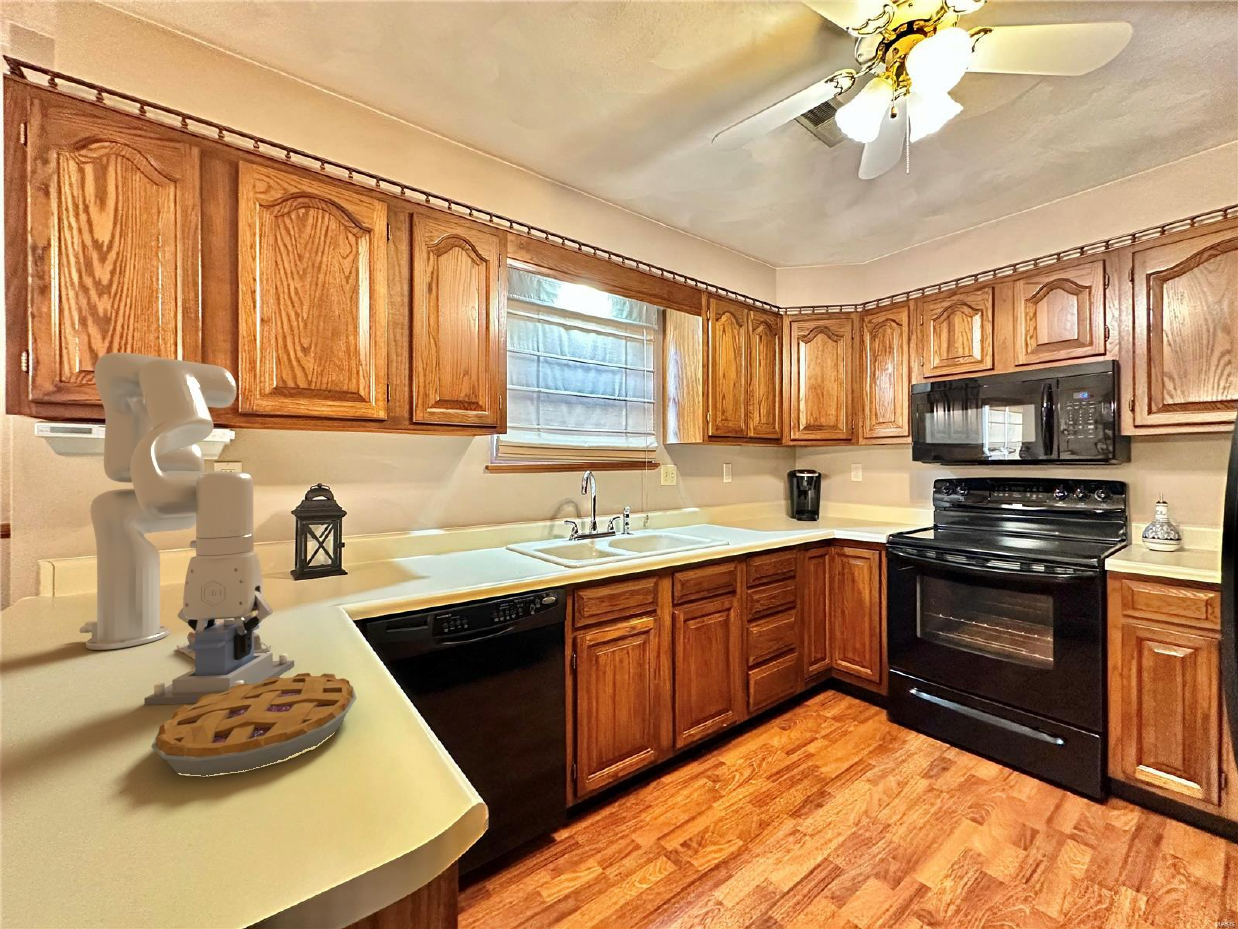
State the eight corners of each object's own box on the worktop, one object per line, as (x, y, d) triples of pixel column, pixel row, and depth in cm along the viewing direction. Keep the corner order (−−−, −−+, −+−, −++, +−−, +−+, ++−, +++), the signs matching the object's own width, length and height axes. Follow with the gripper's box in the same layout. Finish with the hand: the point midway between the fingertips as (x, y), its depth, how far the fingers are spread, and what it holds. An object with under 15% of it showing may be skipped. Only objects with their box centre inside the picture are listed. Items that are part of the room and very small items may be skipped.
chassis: (144, 705, 77) (144, 684, 77) (212, 668, 91) (212, 651, 91) (241, 701, 78) (241, 681, 78) (294, 666, 92) (294, 649, 92)
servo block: (187, 683, 79) (187, 631, 79) (232, 659, 89) (232, 613, 89) (218, 682, 79) (218, 630, 79) (259, 658, 89) (259, 612, 89)
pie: (113, 809, 53) (113, 760, 53) (191, 716, 73) (191, 682, 73) (350, 759, 62) (349, 718, 62) (361, 689, 82) (361, 658, 82)
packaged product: (272, 629, 99) (210, 644, 91) (273, 654, 99) (210, 671, 91) (235, 615, 109) (175, 627, 101) (235, 637, 109) (175, 652, 101)
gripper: (152, 551, 80) (152, 668, 80) (264, 549, 81) (265, 664, 81) (189, 544, 88) (189, 651, 87) (291, 542, 89) (292, 648, 88)
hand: (226, 656), depth 84 cm, fingers closed on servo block, 4 cm apart
